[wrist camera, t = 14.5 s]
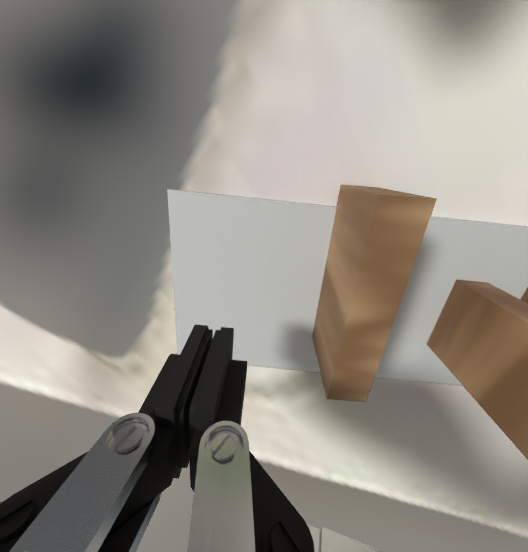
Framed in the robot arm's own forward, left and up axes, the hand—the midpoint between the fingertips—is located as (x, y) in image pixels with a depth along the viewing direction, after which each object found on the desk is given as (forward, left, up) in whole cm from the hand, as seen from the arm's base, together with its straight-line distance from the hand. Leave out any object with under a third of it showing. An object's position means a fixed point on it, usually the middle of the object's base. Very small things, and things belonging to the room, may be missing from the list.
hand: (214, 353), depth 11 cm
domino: (-6, -7, -3) cm, 10 cm away
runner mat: (-14, 0, -6) cm, 15 cm away
